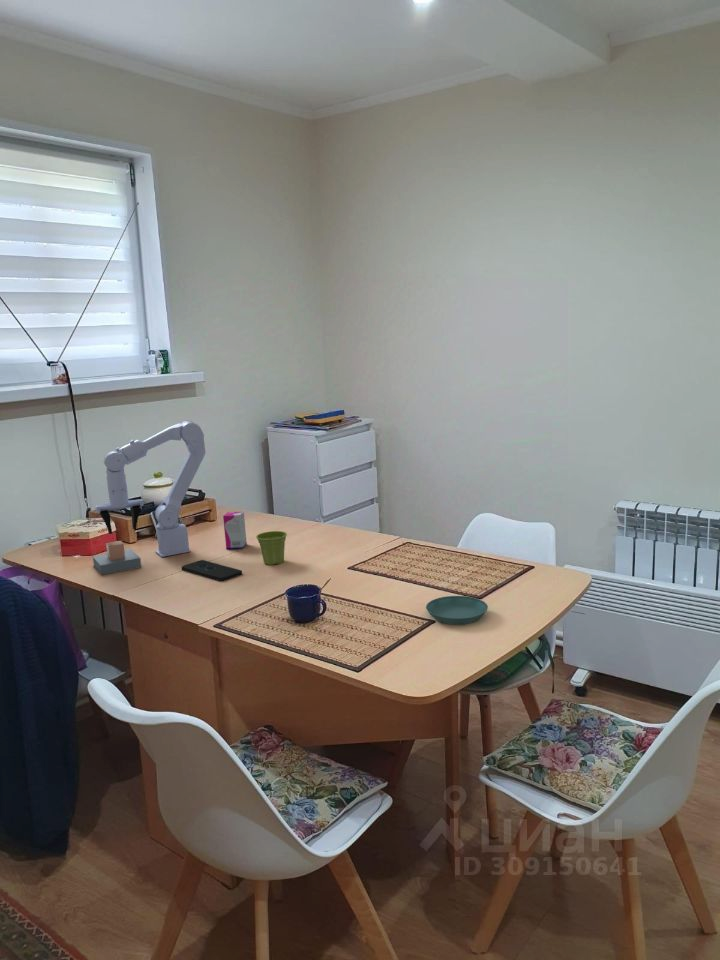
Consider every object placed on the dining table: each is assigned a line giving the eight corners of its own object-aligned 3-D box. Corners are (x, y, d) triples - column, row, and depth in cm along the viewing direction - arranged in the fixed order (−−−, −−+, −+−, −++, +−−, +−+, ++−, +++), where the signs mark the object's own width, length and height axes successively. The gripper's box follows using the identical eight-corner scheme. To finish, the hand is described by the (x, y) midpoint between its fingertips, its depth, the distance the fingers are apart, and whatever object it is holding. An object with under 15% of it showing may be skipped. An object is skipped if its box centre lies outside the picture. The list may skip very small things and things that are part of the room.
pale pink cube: (122, 554, 239) (120, 540, 238) (125, 557, 235) (123, 543, 234) (107, 556, 237) (105, 543, 236) (110, 560, 233) (108, 546, 232)
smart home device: (202, 559, 235) (243, 570, 222) (202, 564, 236) (243, 575, 222) (179, 566, 229) (220, 577, 216) (180, 571, 230) (221, 583, 216)
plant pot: (252, 565, 230) (250, 538, 228) (267, 556, 238) (265, 530, 237) (279, 567, 226) (277, 539, 225) (294, 558, 235) (292, 531, 233)
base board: (132, 558, 245) (131, 549, 244) (141, 567, 234) (140, 557, 234) (93, 565, 239) (92, 556, 238) (101, 574, 229) (100, 565, 228)
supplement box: (247, 544, 254) (244, 510, 252) (242, 549, 248) (240, 515, 246) (230, 544, 255) (227, 511, 252) (225, 549, 249) (222, 515, 247)
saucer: (445, 633, 172) (445, 622, 172) (415, 612, 186) (415, 602, 185) (500, 620, 178) (500, 609, 178) (467, 601, 191) (466, 591, 191)
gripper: (96, 495, 232) (101, 537, 235) (143, 488, 239) (148, 529, 242) (92, 491, 238) (97, 533, 241) (138, 484, 245) (142, 525, 248)
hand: (122, 531), depth 242 cm, fingers open, 7 cm apart
